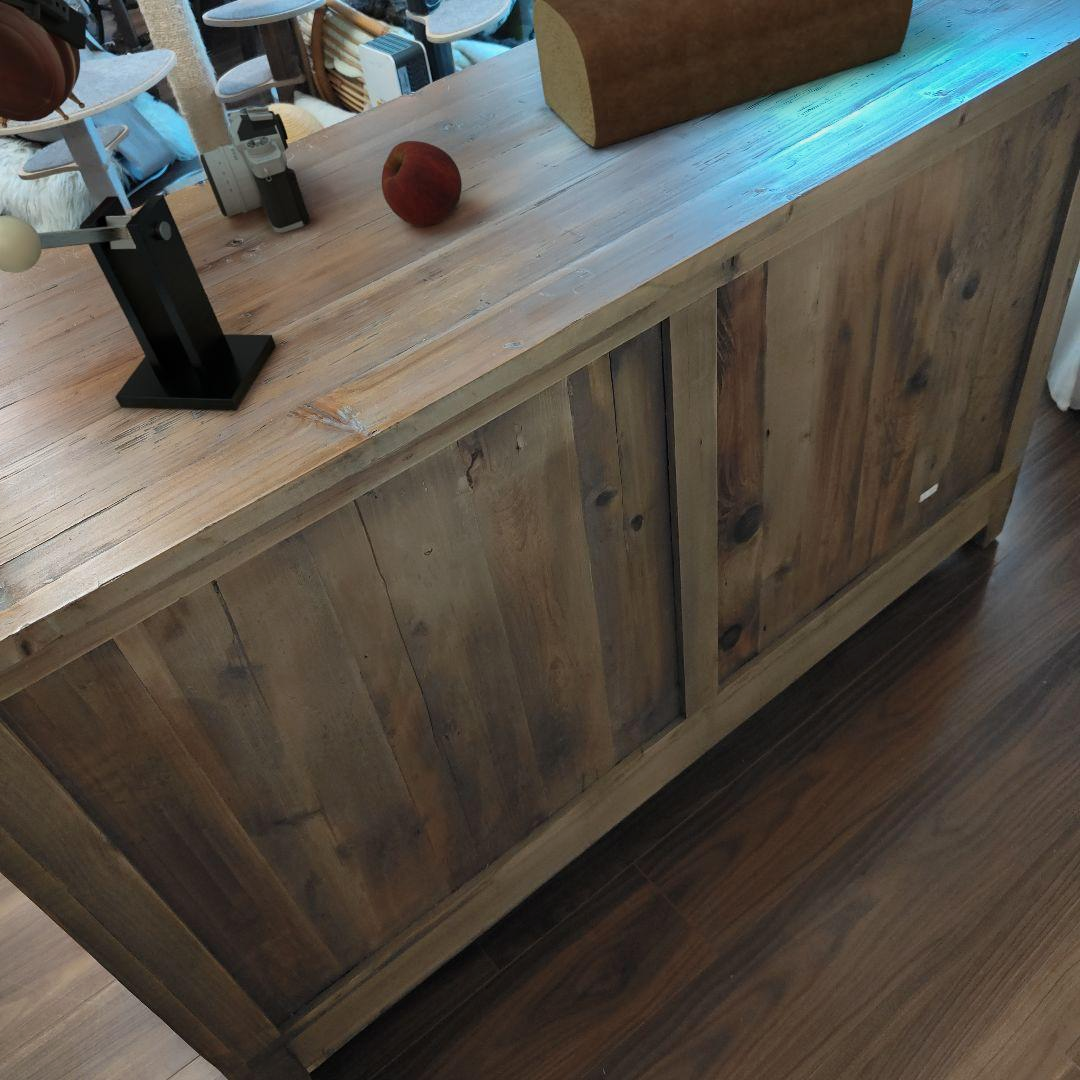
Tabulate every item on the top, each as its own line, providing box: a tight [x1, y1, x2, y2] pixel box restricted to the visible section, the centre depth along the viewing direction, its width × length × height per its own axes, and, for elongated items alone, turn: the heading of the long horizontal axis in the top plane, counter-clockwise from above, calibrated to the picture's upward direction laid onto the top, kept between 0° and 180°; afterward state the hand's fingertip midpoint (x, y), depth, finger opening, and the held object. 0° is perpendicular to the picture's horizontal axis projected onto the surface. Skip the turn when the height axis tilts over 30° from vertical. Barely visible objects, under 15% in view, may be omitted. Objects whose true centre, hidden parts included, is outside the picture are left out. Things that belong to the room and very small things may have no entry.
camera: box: [199, 106, 311, 234], centre depth 104 cm, size 16×9×10 cm, turn 23°
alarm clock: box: [0, 0, 86, 129], centre depth 87 cm, size 11×5×15 cm, turn 89°
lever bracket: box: [79, 194, 277, 412], centre depth 82 cm, size 9×11×16 cm
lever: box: [0, 213, 137, 274], centre depth 72 cm, size 16×4×4 cm, turn 168°
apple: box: [381, 140, 463, 227], centre depth 98 cm, size 7×8×8 cm
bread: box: [532, 0, 914, 149], centre depth 109 cm, size 16×39×13 cm, turn 112°
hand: (26, 38), depth 90 cm, fingers closed on alarm clock, 11 cm apart
